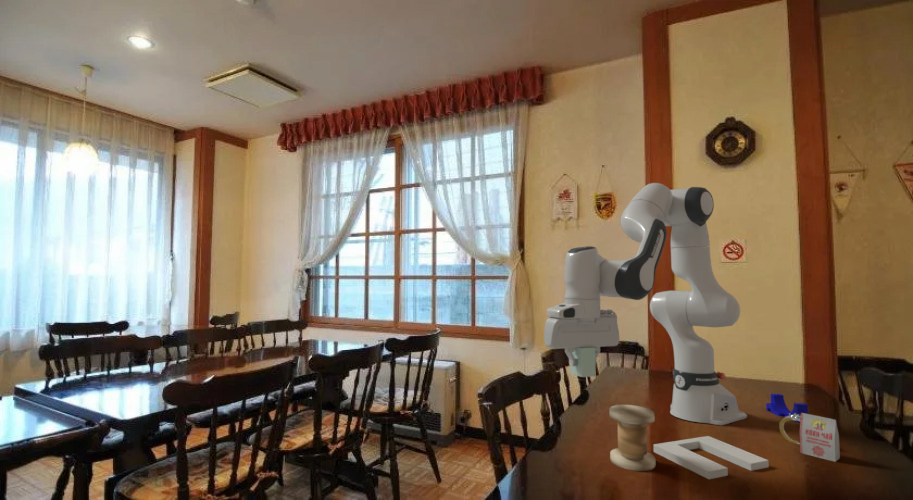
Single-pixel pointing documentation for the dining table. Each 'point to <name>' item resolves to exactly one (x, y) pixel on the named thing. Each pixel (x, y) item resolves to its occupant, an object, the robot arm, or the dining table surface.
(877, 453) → the dining table surface
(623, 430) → the bobbin
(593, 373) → the pale green block
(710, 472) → the u-shaped core
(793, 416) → the ring
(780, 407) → the cable clip
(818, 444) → the tea bag
